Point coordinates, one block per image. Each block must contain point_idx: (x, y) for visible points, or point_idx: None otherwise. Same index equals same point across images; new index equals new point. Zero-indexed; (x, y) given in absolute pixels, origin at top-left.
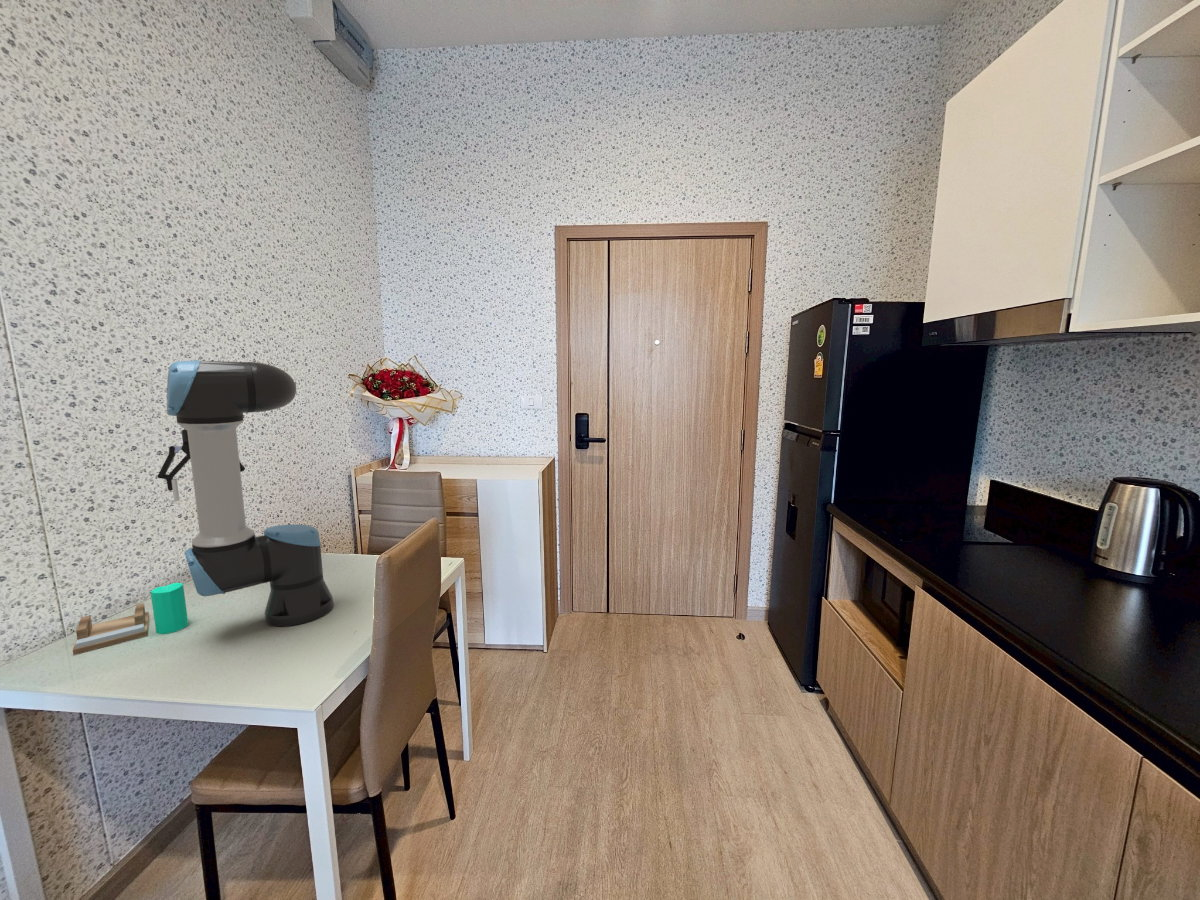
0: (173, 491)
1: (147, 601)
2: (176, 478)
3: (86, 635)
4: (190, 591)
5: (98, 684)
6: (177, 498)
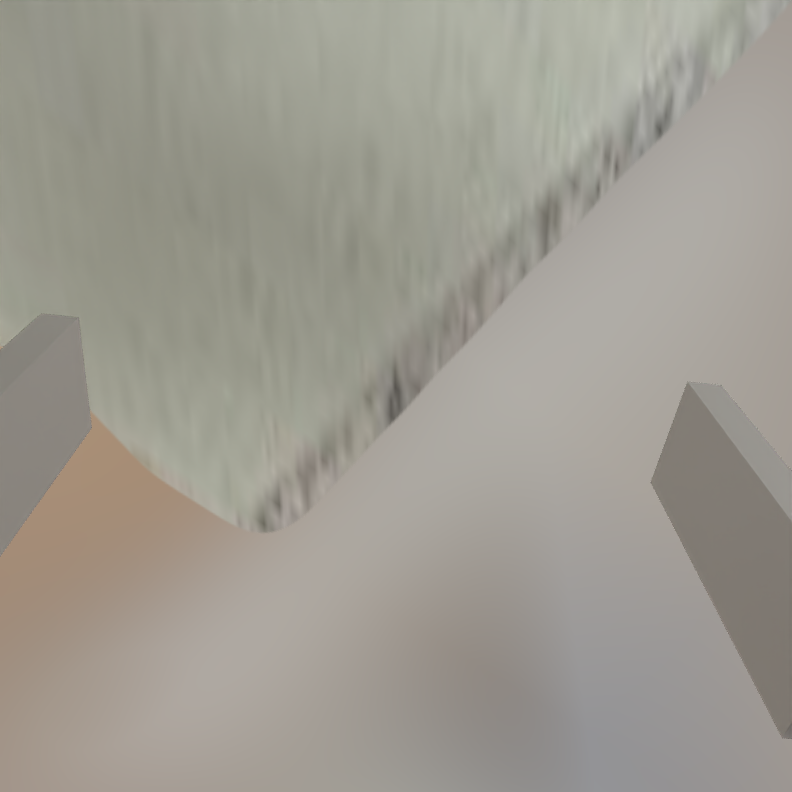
0: (782, 468)
1: (699, 15)
2: (786, 735)
3: None
4: (512, 33)
5: None
6: (695, 415)
